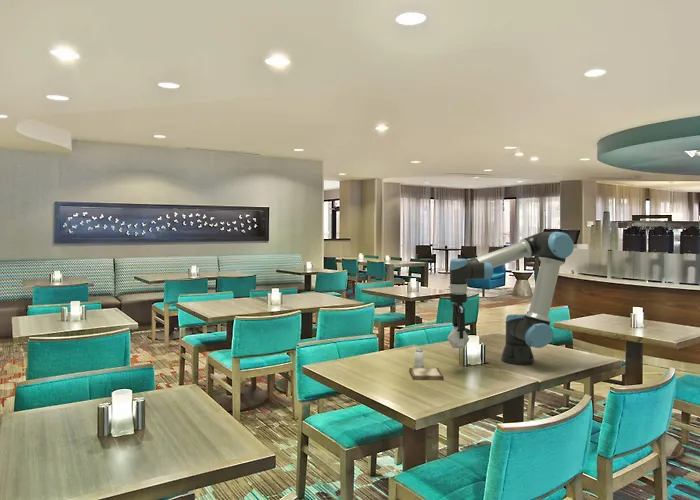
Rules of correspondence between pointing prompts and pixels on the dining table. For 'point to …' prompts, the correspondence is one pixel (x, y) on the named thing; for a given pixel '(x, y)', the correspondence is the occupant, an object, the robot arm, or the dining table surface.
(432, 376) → the board
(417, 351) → the shaker
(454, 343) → the die
